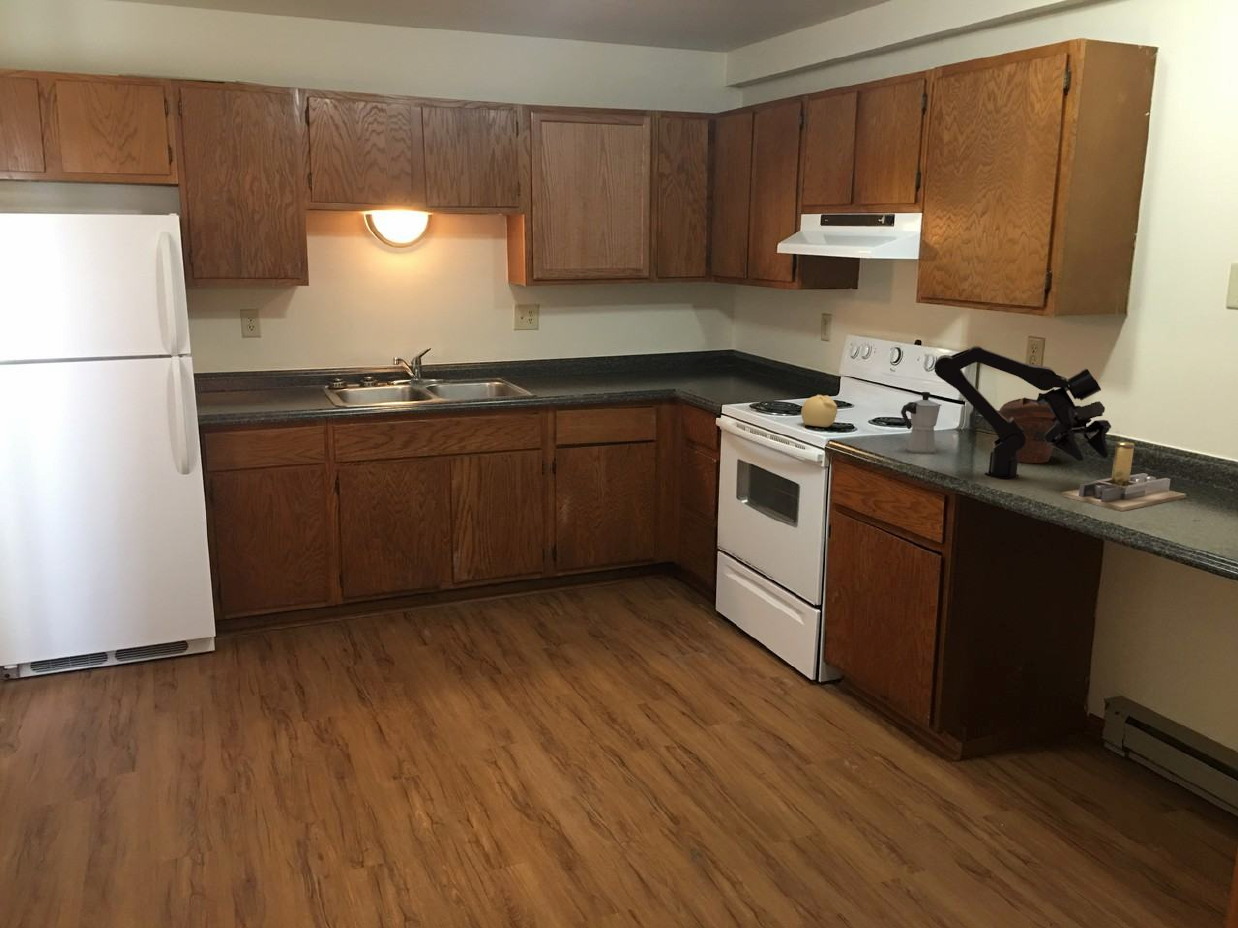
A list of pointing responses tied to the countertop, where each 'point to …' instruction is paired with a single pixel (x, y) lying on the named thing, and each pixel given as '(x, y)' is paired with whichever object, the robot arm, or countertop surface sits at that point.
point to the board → (1129, 503)
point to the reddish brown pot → (1031, 428)
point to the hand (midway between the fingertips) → (1094, 458)
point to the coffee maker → (921, 424)
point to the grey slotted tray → (1124, 488)
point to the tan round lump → (819, 411)
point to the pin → (1122, 463)
